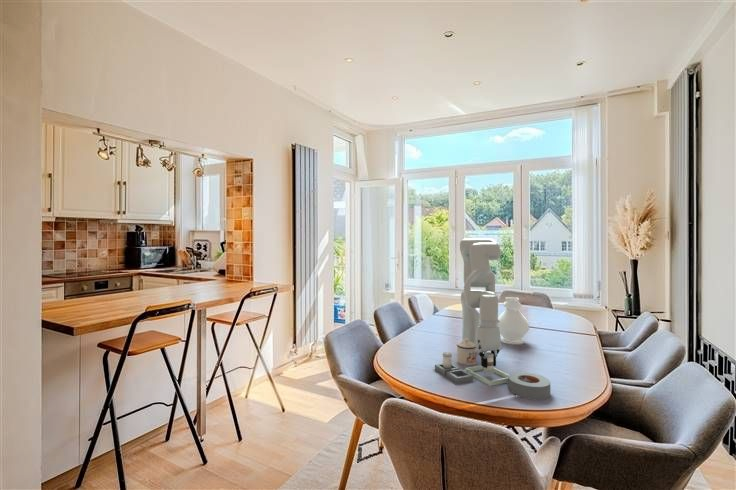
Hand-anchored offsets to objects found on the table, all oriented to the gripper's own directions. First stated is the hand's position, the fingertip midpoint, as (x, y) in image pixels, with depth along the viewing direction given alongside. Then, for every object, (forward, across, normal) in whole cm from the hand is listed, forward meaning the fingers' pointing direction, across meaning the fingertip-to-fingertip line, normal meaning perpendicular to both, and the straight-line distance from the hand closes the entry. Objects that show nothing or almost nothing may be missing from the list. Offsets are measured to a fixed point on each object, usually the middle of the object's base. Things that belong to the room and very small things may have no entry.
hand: (488, 365), depth 154 cm
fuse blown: (+3, 0, 0) cm, 3 cm away
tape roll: (+6, -6, +16) cm, 18 cm away
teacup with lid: (+6, -4, -19) cm, 20 cm away
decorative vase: (+5, -49, -38) cm, 62 cm away
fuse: (+5, +13, -12) cm, 18 cm away
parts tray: (+5, 0, 0) cm, 5 cm away
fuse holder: (+5, +13, -7) cm, 16 cm away
